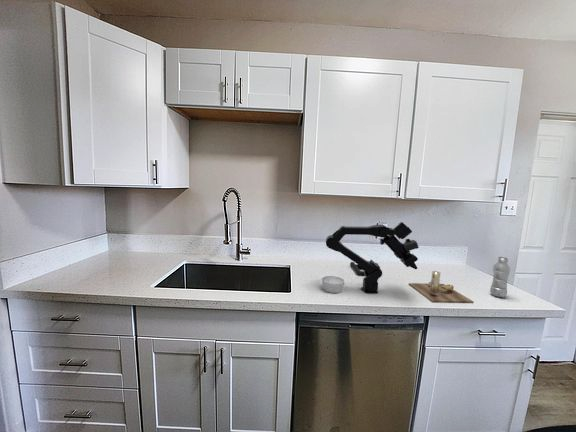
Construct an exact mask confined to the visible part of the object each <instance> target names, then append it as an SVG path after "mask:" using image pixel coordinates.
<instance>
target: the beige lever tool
mask: <svg viewBox="0 0 576 432" xmlns="http://www.w3.org/2000/svg"><path fill="white" fill-rule="evenodd" d="M440 281H441V272H440V271H437V270H432V271H431V280H430V281H428V283H427V284H428V286H429V287H430V292H431V294H434V295H437V293H438V291H439V284H440V283H441V282H440Z"/></svg>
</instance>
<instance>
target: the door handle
mask: <svg viewBox="0 0 576 432" xmlns="http://www.w3.org/2000/svg"><path fill="white" fill-rule="evenodd" d="M349 265H350V266H351V269H352V270H353V272H354V273H355V274H357V276H359V277H360V276H362V277H365V275H364V271H365V269H364V268H362V267H361V266H360V265H358V264H357V263H355V262H354V261H351V262H350V263H349Z"/></svg>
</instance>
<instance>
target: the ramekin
mask: <svg viewBox="0 0 576 432" xmlns="http://www.w3.org/2000/svg"><path fill="white" fill-rule="evenodd" d="M321 282H322V288H323V290H324V291H325V292H327V293H331V294H338V293H340V292H342V291H343V288H344V284H345V280H344V279H343V278H342V277H339V276H335V275H326V276H323V277H322V278H321Z"/></svg>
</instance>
